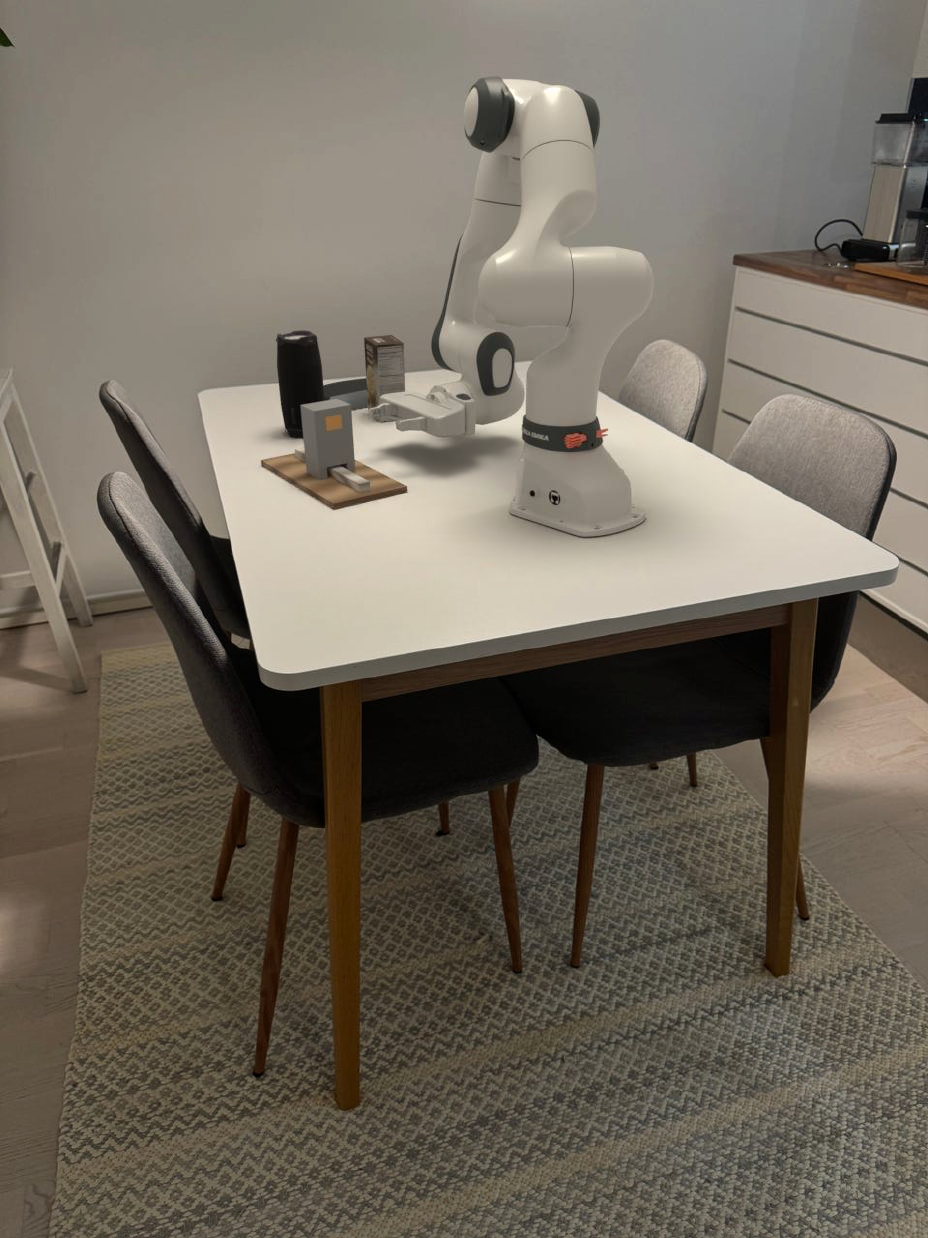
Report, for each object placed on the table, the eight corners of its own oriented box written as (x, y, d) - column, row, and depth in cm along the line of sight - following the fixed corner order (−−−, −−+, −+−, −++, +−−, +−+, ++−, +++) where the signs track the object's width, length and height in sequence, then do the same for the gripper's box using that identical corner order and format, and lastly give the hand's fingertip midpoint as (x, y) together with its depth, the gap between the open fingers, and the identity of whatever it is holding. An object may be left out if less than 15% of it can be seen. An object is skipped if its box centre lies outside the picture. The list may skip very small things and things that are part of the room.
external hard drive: (404, 402, 210) (404, 384, 208) (332, 417, 199) (331, 398, 197) (372, 391, 219) (371, 374, 217) (301, 405, 208) (300, 387, 206)
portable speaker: (306, 424, 192) (298, 327, 183) (336, 432, 187) (329, 333, 178) (273, 432, 187) (263, 333, 178) (303, 441, 181) (295, 340, 172)
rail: (407, 491, 156) (406, 477, 154) (334, 509, 148) (332, 494, 147) (329, 451, 176) (328, 438, 175) (261, 465, 169) (259, 452, 167)
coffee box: (366, 412, 201) (362, 336, 193) (394, 409, 203) (391, 334, 195) (379, 422, 193) (375, 344, 186) (408, 419, 195) (405, 342, 188)
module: (355, 472, 162) (351, 404, 156) (319, 480, 158) (314, 411, 152) (341, 465, 165) (336, 398, 160) (306, 472, 162) (300, 404, 156)
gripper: (416, 380, 177) (354, 390, 170) (479, 401, 162) (414, 414, 155) (417, 412, 180) (356, 424, 173) (479, 436, 165) (415, 450, 158)
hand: (384, 420), depth 164 cm, fingers open, 8 cm apart
